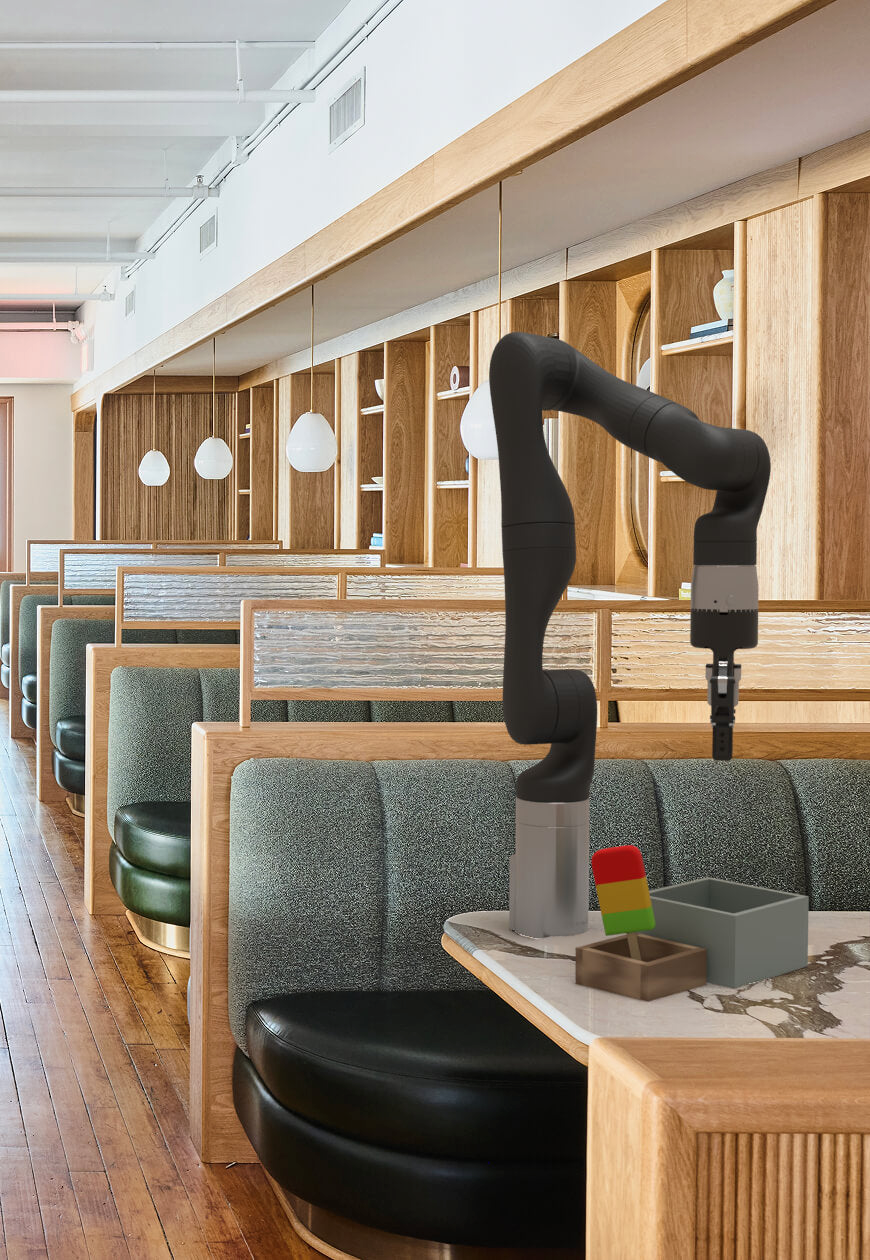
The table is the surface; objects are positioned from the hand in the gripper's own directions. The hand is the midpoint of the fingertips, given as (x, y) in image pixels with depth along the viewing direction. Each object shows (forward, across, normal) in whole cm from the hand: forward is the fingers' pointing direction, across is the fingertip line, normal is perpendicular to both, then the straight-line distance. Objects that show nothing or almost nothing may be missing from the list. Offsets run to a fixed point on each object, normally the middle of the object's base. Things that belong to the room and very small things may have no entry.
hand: (722, 757), depth 168 cm
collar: (+24, +10, -8) cm, 27 cm away
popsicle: (+24, +10, -8) cm, 27 cm away
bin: (+24, 0, 0) cm, 24 cm away
